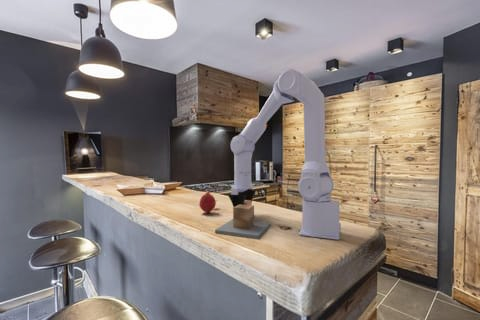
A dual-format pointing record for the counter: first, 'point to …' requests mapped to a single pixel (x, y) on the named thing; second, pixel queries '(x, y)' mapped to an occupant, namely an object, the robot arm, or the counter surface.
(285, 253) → the counter surface
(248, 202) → the terracotta block
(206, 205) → the onion
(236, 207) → the walnut block
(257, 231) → the slate board
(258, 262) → the counter surface
